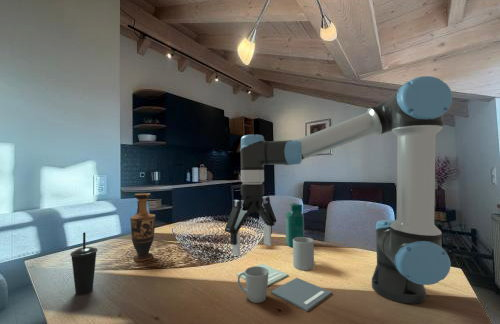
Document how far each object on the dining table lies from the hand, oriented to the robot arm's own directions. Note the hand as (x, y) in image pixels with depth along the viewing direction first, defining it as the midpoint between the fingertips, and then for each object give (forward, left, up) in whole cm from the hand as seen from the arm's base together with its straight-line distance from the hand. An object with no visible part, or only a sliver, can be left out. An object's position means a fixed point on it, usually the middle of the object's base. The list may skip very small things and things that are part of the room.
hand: (252, 249), depth 77 cm
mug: (+4, -33, -15) cm, 36 cm away
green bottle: (+22, -51, -15) cm, 57 cm away
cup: (0, 0, -15) cm, 15 cm away
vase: (+60, +14, -15) cm, 63 cm away
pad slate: (-9, -13, -15) cm, 22 cm away
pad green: (+9, -13, -15) cm, 22 cm away
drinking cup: (+43, +39, -15) cm, 60 cm away
